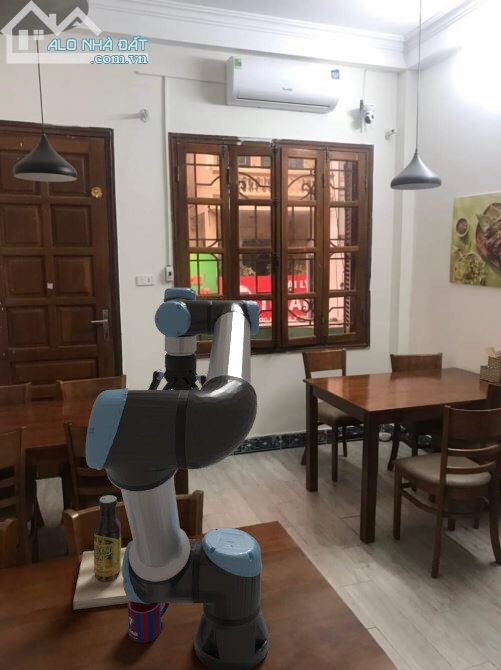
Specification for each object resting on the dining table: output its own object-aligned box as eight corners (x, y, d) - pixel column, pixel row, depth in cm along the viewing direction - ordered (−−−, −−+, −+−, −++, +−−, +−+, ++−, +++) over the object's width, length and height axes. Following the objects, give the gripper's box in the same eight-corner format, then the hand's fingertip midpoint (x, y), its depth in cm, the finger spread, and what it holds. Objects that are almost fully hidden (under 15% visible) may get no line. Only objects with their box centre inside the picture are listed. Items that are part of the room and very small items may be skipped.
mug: (122, 631, 109) (121, 601, 108) (162, 609, 116) (161, 581, 115) (139, 648, 104) (139, 617, 103) (179, 624, 111) (179, 595, 110)
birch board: (137, 601, 118) (137, 593, 118) (73, 609, 115) (73, 601, 115) (138, 553, 137) (138, 546, 137) (83, 558, 134) (83, 551, 134)
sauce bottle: (88, 580, 123) (86, 501, 120) (104, 565, 128) (102, 490, 125) (112, 586, 120) (109, 506, 117) (127, 571, 126) (125, 495, 123)
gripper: (235, 353, 122) (234, 439, 125) (142, 346, 130) (144, 427, 133) (223, 359, 115) (223, 449, 118) (126, 351, 123) (128, 436, 126)
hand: (181, 438), depth 126 cm, fingers open, 13 cm apart
